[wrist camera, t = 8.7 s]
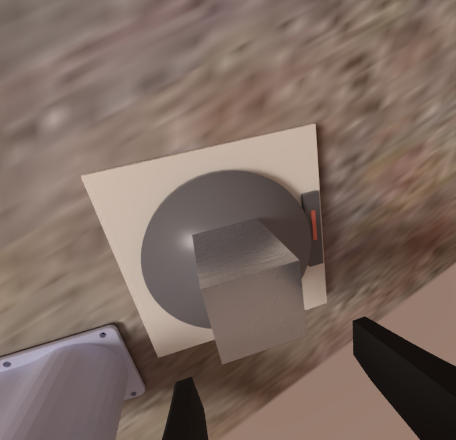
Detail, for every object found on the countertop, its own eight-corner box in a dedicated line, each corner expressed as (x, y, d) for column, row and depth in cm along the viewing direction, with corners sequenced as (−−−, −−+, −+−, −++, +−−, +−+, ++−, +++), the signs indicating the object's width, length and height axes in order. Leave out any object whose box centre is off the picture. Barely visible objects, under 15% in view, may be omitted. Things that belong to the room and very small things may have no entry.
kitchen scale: (159, 343, 20) (157, 369, 18) (89, 172, 15) (73, 178, 13) (317, 292, 22) (333, 310, 20) (304, 124, 17) (324, 122, 15)
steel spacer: (207, 290, 17) (222, 364, 11) (191, 234, 15) (200, 289, 10) (265, 272, 17) (307, 335, 12) (256, 217, 16) (299, 260, 10)
